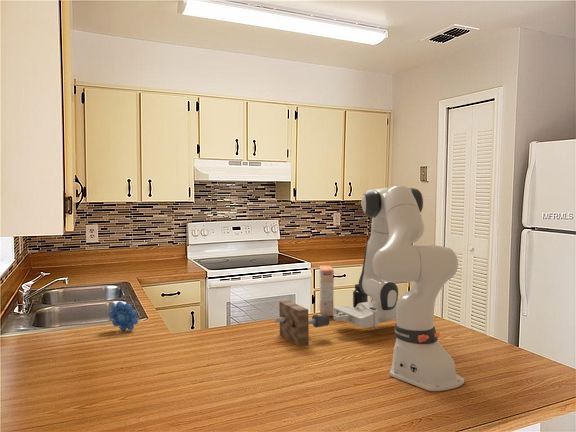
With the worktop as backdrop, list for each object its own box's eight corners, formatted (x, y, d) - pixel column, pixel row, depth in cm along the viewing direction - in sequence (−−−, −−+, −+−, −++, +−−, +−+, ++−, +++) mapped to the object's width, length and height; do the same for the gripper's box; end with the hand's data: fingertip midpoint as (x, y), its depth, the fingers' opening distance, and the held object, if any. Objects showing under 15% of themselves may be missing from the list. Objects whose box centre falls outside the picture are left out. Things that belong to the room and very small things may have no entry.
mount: (308, 344, 171) (308, 309, 170) (298, 346, 169) (298, 310, 169) (288, 332, 185) (288, 300, 185) (279, 334, 184) (279, 301, 183)
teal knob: (308, 323, 182) (308, 311, 182) (278, 328, 176) (277, 315, 176) (302, 320, 186) (302, 308, 186) (272, 324, 180) (272, 313, 180)
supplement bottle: (367, 308, 222) (367, 283, 221) (368, 312, 215) (368, 286, 215) (352, 308, 223) (352, 283, 222) (353, 312, 216) (353, 286, 215)
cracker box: (334, 316, 208) (334, 270, 207) (320, 316, 208) (320, 270, 207) (332, 308, 222) (331, 264, 221) (319, 308, 222) (319, 264, 221)
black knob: (329, 326, 177) (329, 314, 177) (299, 331, 171) (299, 319, 171) (323, 323, 181) (323, 312, 181) (293, 328, 175) (293, 316, 175)
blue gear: (105, 334, 186) (104, 304, 186) (111, 329, 193) (110, 300, 192) (134, 333, 186) (133, 303, 186) (140, 328, 193) (139, 299, 192)
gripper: (350, 300, 196) (321, 304, 190) (380, 311, 178) (350, 316, 171) (350, 315, 196) (321, 319, 190) (380, 327, 178) (350, 333, 172)
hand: (335, 318), depth 181 cm, fingers closed
